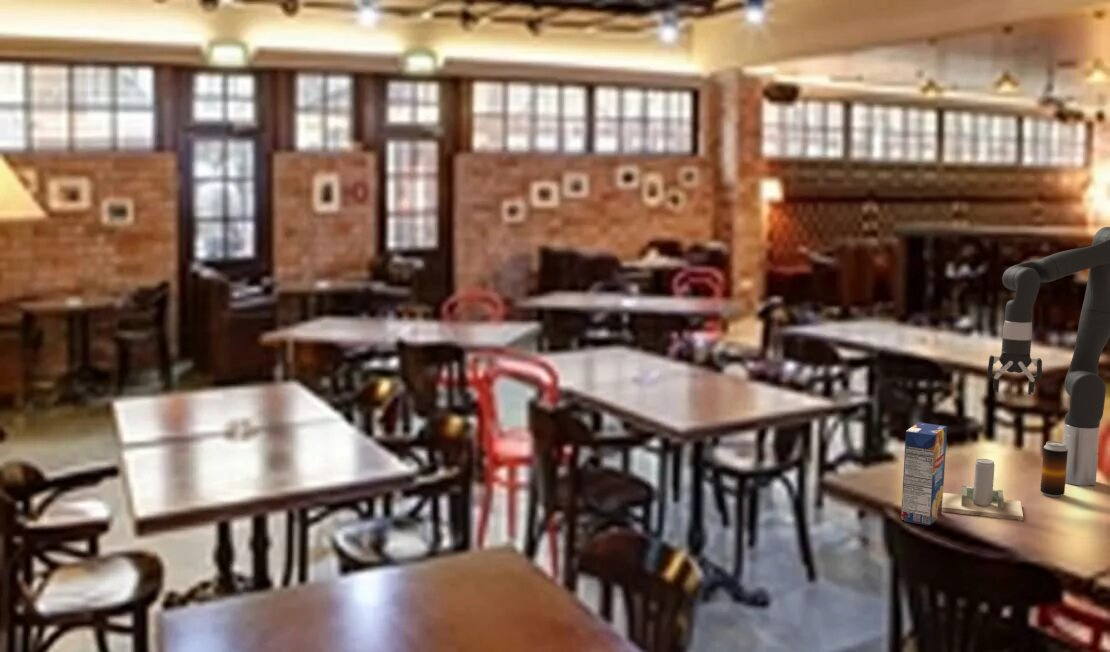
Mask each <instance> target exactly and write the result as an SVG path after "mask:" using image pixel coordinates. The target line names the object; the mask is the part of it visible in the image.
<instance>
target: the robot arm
mask: <svg viewBox="0 0 1110 652" xmlns="http://www.w3.org/2000/svg"><path fill="white" fill-rule="evenodd" d="M1086 270H1088V276H1087V281H1086V282H1087V283H1086V288H1085V294H1084V300H1083V304H1082V308H1081V311H1080V317H1079V322H1078V329H1077V333H1076V338H1075V345H1074V351H1073V354H1072V357H1071V361H1070V364H1069V367H1068V370H1067V373H1066V376H1065V379H1064V389H1065V392H1066V393H1067V395H1068V396H1069V397H1070V400H1069V401H1070V403H1069V410H1068V412H1067V413H1065V416H1064V424H1063V425H1064V426H1063V437H1062V438H1063V441H1062V443H1065V444H1066V447H1067V449H1068V455H1067V467H1066V480H1065V484H1069V485H1074V486H1087V487H1088V486H1095V487H1096V485H1097V473H1098V462H1099V453H1098V449H1099V448H1098V446H1099V438H1100V437H1099V436H1100V435H1099V433H1100V424H1101V420H1102V418H1103V415H1104V409H1105V401H1106V384H1105V381H1104V379H1102V377H1101V376H1100V375H1098V369H1099V364H1100V358H1101V355H1102V352H1103V350H1104V348H1105V346H1106V345H1107V343H1108V342H1109V339H1110V226H1104V227H1101V228H1100V229H1099V230H1097V232H1096V233H1095V235H1094V236H1093V238H1092V242H1091V245H1089V246H1085V247H1079V248H1073V249H1068V250H1063V251H1059V252H1055V253H1053V254H1050V255H1048V256H1045V257H1042V258H1040V259H1037V260H1032V261H1027V262H1022V263H1018V264H1015V265H1013V266H1010V267H1009V268H1007V269H1006V270H1005V271H1004V273H1003V274H1002V277H1001V279H1002V280H1001V281H1002V282H1001V283H1002V284H1003V286H1004V287H1005V288H1007V290H1010V291H1014V292H1015V296H1014V299H1011V300H1008V301H1007V302H1006V305H1005V313H1004V314H1005V315H1004V322H1003V323H1004V324H1003V328H1002V329H1003V330H1002V341H1001V354H1000V356H997V355H993V354H990V355H989V358H988V364H987V370H986V371H987V373H986V374H987V377H989V378H992V379H993V383H992V384H993V386H992V388H993V390H994V391H995V393H999V387H1000V377H1001V376H1003V374H1004V373H1006V372H1008V373H1017V374H1020V373H1024V375H1025V376H1026V377H1027V378H1028V384H1027V385H1028V386H1027V395H1029V396H1030V395H1032V393H1034V390H1035V382H1036V381H1041V380H1042V378H1043V360H1042V359H1041V358H1040V357H1038V358H1031V349H1032V337H1033V335H1032V334H1033V324H1032V321H1033V307H1034V305H1035V303H1036V300H1037V298H1038V297H1037V296H1038V294H1039V291H1040V287H1041V283H1050V282H1054V281H1056V280H1059V279H1062V278H1064V277H1067V276H1070V275H1073V274H1077V273H1079V272H1082V271H1086ZM997 362H1000V365H1002V366H1000V367H999V369H998V370H997V371H996V372H994V371H993V370H994V365H995V364H996V363H997ZM1032 363H1033V366H1034V367H1036V375H1033V374H1032V372H1031V371H1030V370H1029V368H1028V367H1029V366H1030V365H1031V364H1032Z"/></svg>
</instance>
